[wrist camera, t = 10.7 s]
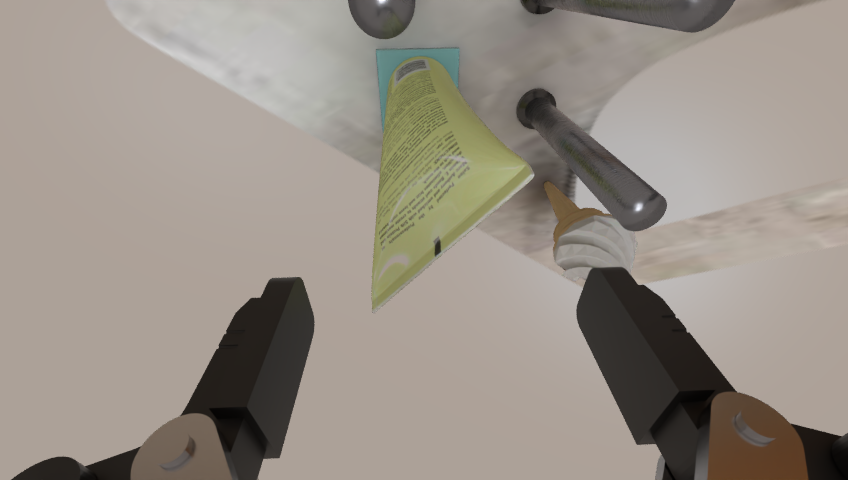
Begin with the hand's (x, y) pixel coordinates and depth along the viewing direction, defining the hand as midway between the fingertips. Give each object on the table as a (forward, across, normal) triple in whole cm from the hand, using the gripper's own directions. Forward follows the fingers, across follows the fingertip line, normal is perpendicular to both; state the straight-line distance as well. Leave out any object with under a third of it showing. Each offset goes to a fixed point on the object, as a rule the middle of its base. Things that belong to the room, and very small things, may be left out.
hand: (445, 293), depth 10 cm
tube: (+21, 0, 0) cm, 21 cm away
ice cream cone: (+22, -11, +8) cm, 26 cm away
